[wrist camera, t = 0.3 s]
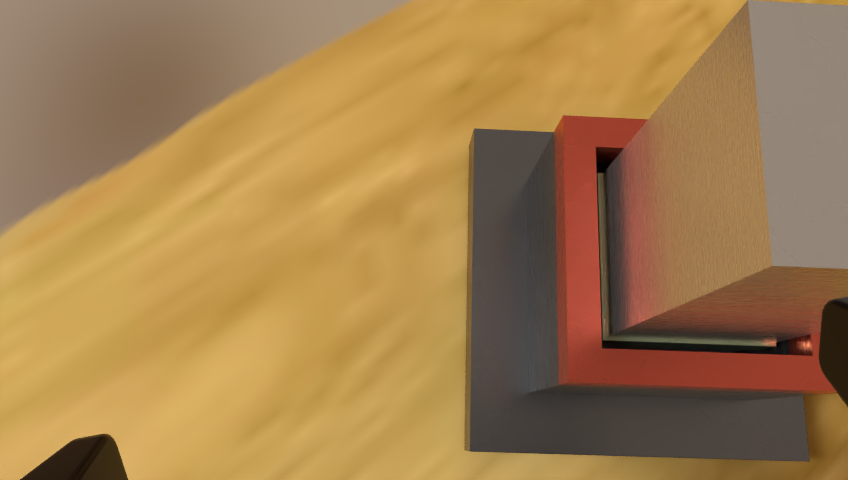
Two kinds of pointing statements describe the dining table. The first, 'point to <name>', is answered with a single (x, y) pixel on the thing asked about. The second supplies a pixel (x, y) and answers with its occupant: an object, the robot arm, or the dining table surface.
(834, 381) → the robot arm
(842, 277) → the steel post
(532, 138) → the stand
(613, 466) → the dining table surface
